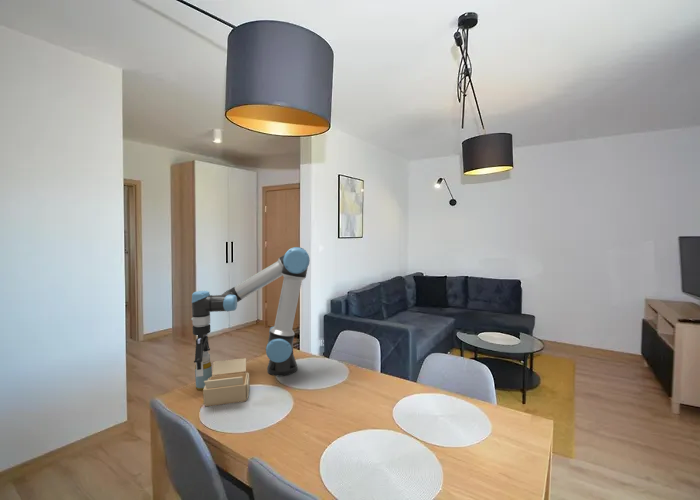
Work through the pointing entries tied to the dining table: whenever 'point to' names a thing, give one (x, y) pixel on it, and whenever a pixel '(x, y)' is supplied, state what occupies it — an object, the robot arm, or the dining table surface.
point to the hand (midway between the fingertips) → (202, 370)
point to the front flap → (223, 382)
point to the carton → (227, 391)
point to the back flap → (229, 366)
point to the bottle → (204, 372)
